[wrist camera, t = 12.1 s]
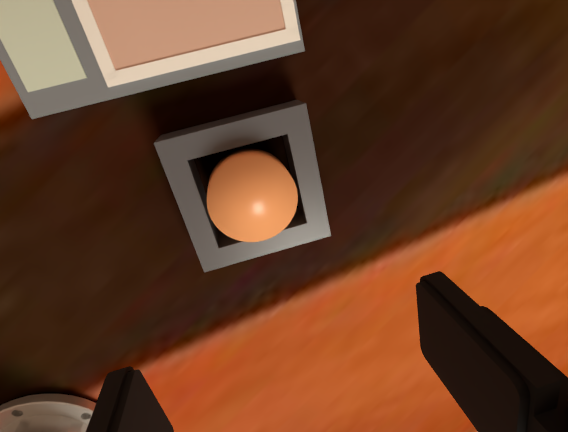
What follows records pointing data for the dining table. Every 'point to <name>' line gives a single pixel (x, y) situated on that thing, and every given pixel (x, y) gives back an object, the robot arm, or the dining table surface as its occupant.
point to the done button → (251, 195)
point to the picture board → (134, 45)
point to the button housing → (230, 134)
